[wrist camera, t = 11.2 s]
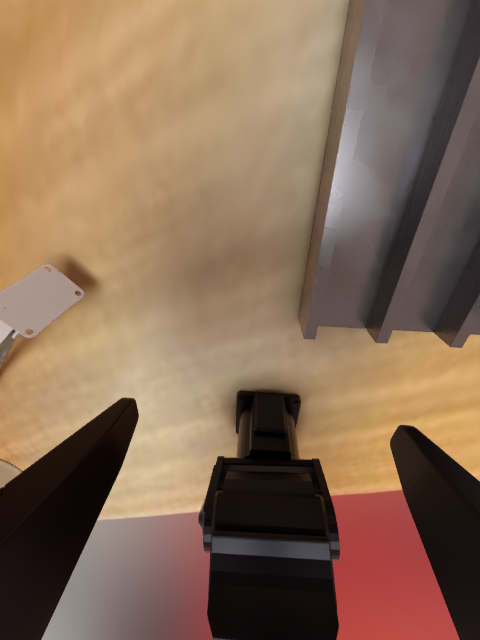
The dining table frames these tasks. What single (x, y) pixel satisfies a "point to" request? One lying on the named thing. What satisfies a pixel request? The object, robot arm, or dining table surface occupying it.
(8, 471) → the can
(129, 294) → the dining table surface
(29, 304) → the bracket
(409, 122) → the rack
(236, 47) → the dining table surface
